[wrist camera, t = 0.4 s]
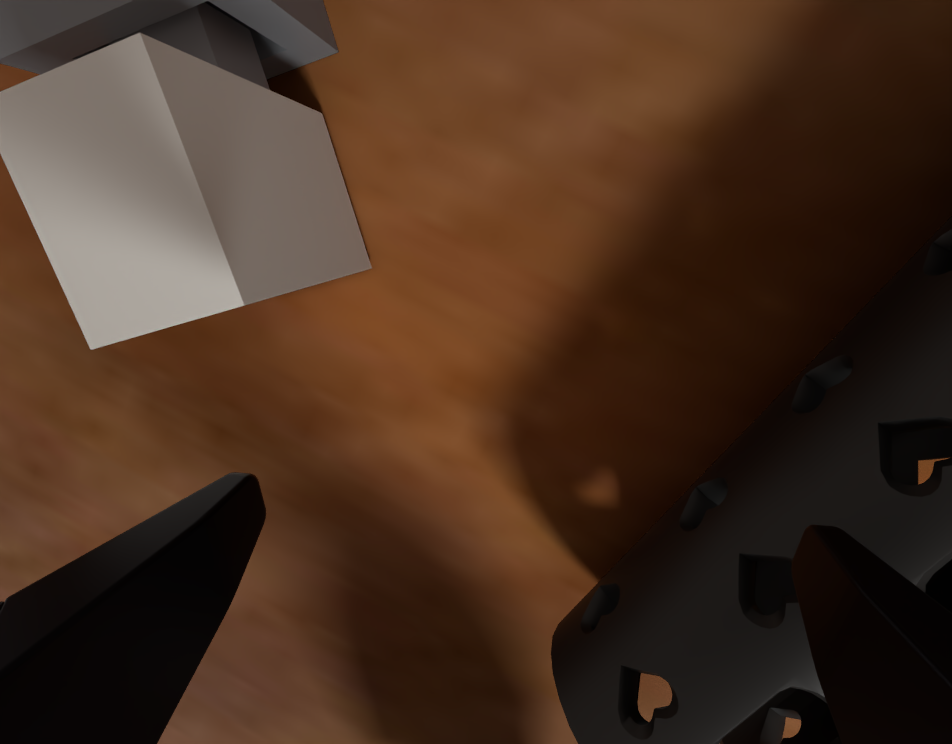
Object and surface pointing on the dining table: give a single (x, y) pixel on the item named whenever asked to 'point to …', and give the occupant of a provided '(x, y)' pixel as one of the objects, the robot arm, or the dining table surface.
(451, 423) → the dining table surface
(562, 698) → the muzzle brake
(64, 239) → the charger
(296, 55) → the block
